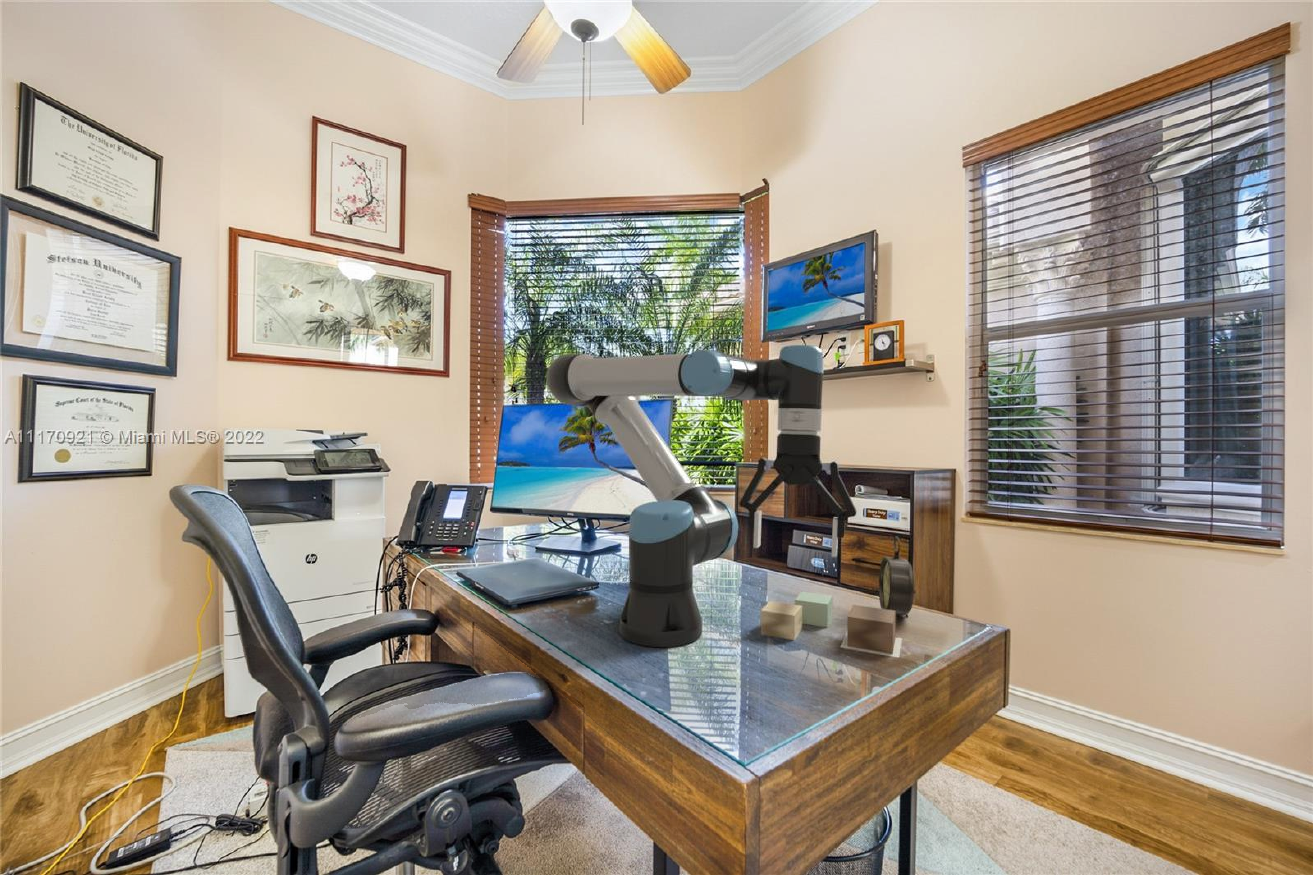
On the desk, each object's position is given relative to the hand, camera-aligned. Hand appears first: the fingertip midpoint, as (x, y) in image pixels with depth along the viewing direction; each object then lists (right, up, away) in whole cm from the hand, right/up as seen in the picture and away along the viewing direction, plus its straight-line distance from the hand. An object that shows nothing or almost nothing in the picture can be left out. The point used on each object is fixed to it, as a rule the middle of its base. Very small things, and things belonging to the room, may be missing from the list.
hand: (794, 551), depth 95 cm
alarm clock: (+22, -16, +9) cm, 29 cm away
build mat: (+12, -15, -5) cm, 20 cm away
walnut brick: (+12, -15, -5) cm, 20 cm away
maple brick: (-2, -15, +1) cm, 16 cm away
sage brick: (+5, -15, +7) cm, 18 cm away
